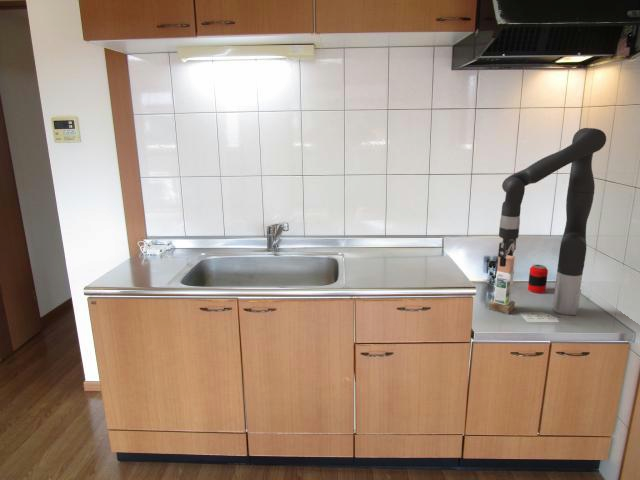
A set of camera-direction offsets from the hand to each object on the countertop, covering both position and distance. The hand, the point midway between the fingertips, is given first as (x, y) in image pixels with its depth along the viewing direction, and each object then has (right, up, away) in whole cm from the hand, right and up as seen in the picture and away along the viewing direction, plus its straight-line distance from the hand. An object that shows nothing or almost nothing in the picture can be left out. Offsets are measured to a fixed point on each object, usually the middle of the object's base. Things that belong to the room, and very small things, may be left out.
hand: (505, 263), depth 188 cm
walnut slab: (0, -20, +5) cm, 21 cm away
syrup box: (0, -17, +5) cm, 18 cm away
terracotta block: (0, -3, +1) cm, 3 cm away
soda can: (+25, -14, +24) cm, 37 cm away
